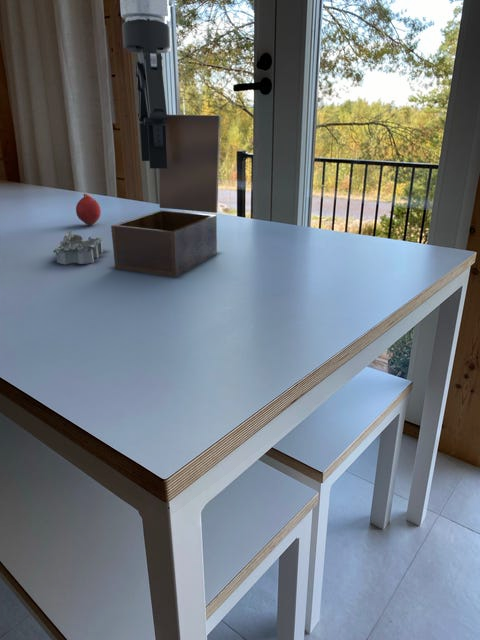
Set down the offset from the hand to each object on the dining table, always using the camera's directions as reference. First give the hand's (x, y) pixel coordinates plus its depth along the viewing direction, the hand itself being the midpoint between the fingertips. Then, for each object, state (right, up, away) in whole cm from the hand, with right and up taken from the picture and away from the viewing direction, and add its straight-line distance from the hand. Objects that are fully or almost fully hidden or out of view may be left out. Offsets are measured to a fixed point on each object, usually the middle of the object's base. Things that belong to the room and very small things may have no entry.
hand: (153, 164), depth 83 cm
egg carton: (-16, -15, +9) cm, 24 cm away
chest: (+1, -16, +8) cm, 18 cm away
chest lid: (+5, +3, +9) cm, 10 cm away
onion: (-22, -4, +36) cm, 42 cm away
